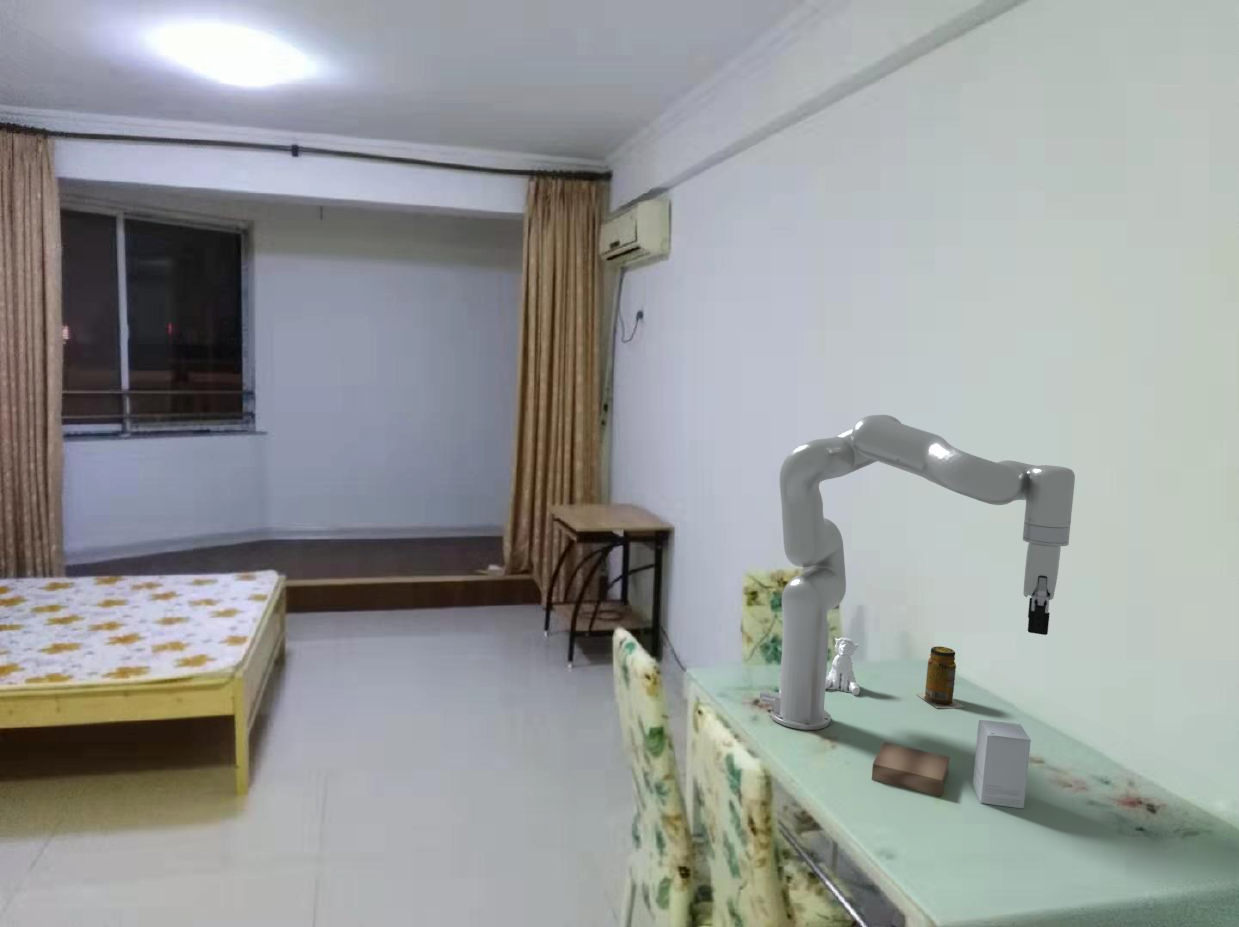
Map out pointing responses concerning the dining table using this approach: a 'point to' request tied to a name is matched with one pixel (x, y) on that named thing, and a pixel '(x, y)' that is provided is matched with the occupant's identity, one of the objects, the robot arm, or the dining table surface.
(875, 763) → the walnut base
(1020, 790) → the supplement box
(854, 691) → the sitting furry creature
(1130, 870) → the dining table surface
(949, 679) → the condiment
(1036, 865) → the dining table surface
